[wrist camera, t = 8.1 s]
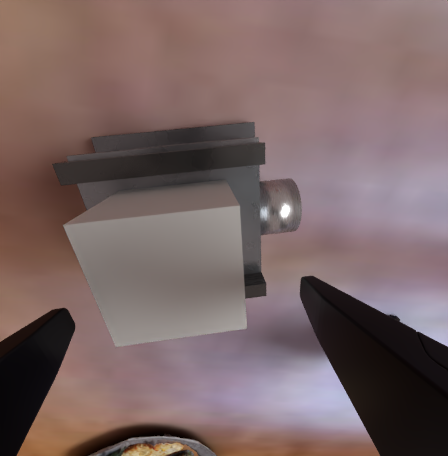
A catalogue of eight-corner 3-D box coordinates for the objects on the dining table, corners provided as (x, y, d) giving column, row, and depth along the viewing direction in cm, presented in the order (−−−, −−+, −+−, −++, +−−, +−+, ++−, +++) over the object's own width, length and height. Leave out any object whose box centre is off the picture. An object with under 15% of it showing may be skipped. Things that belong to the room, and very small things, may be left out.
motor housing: (274, 250, 21) (308, 303, 14) (137, 268, 21) (104, 332, 14) (276, 120, 17) (327, 107, 10) (97, 137, 16) (16, 136, 9)
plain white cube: (233, 267, 14) (246, 328, 10) (144, 278, 14) (115, 347, 9) (225, 179, 12) (239, 205, 7) (118, 190, 12) (62, 225, 7)
